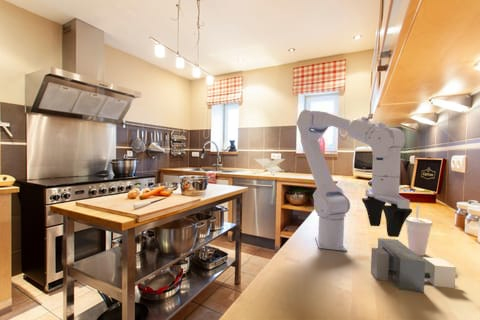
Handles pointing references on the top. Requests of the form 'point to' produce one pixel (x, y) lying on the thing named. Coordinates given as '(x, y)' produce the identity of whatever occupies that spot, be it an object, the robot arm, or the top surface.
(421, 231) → the smoothie
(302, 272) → the top surface
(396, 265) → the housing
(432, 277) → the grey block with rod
